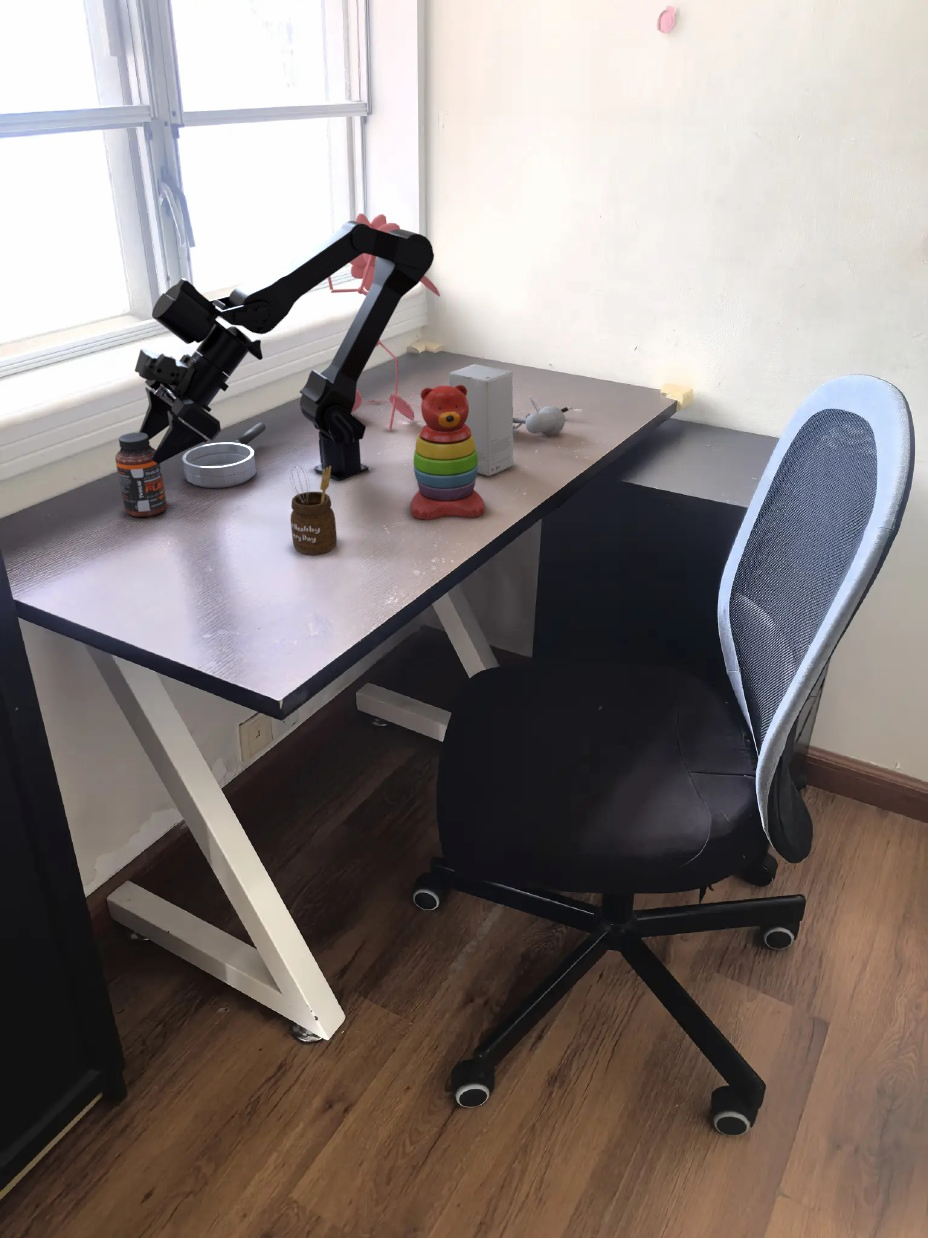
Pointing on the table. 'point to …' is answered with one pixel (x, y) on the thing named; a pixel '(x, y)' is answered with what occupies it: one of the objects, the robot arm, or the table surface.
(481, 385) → the cosmetic box
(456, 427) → the stacking bear
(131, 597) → the table surface
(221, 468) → the pan
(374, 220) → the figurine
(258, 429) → the pan handle
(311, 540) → the utensil holder
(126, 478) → the supplement bottle
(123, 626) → the table surface
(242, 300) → the robot arm
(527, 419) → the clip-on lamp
